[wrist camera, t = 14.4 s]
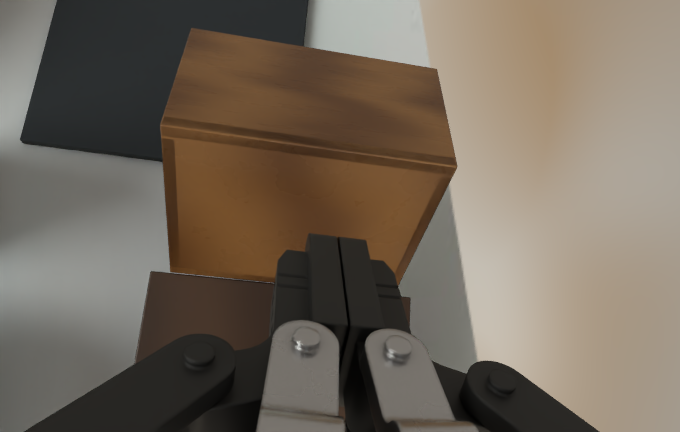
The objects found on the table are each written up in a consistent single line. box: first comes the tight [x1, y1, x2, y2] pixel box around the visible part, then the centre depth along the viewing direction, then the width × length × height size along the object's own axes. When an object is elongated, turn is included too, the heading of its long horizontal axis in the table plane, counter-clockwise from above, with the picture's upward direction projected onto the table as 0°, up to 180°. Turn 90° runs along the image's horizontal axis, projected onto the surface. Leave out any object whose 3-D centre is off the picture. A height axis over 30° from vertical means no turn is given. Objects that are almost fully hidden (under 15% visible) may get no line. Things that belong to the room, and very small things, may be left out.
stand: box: [134, 271, 410, 421], centre depth 31 cm, size 14×11×8 cm
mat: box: [20, 0, 308, 161], centre depth 41 cm, size 18×22×1 cm
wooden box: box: [160, 28, 457, 285], centre depth 28 cm, size 12×10×7 cm
